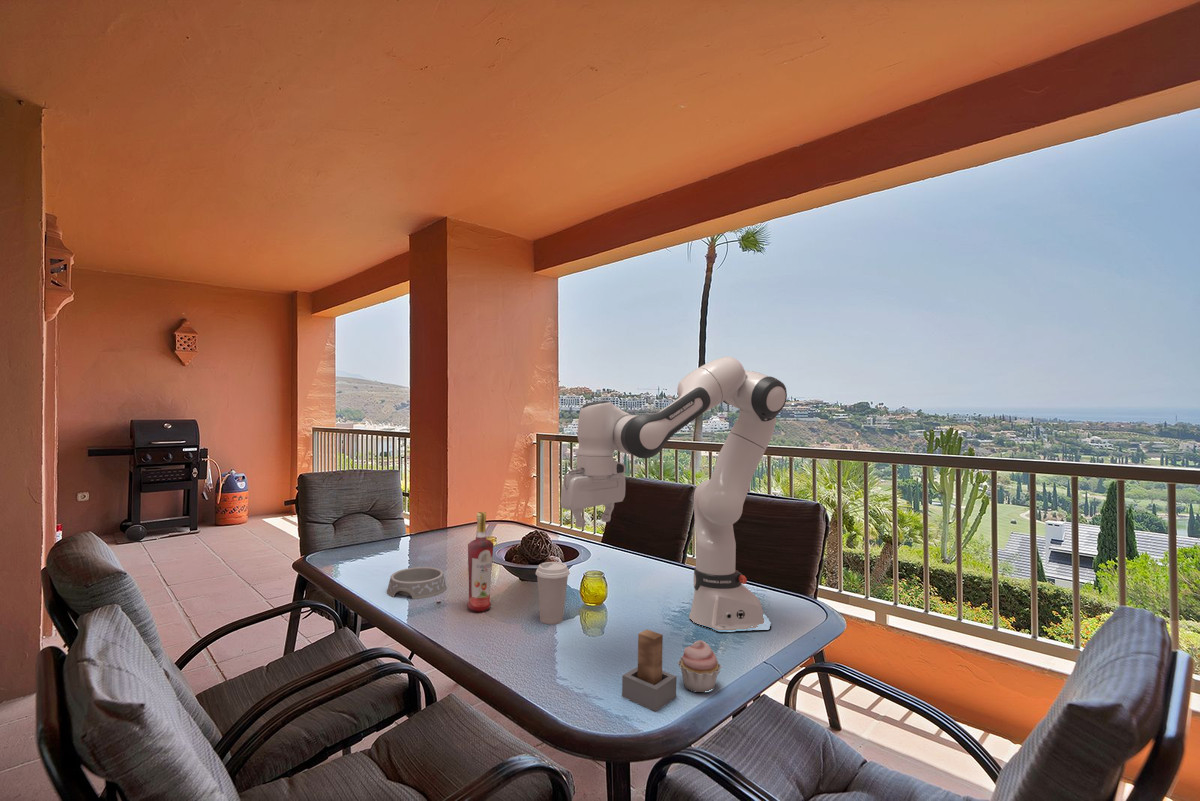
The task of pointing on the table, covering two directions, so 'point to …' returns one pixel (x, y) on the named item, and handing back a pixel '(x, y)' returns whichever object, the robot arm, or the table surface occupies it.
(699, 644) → the cupcake
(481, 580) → the liquor
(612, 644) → the table surface
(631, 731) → the table surface
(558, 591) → the coffee cup
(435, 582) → the dog bowl
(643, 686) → the end cap
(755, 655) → the table surface
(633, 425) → the robot arm
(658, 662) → the brown wooden block
